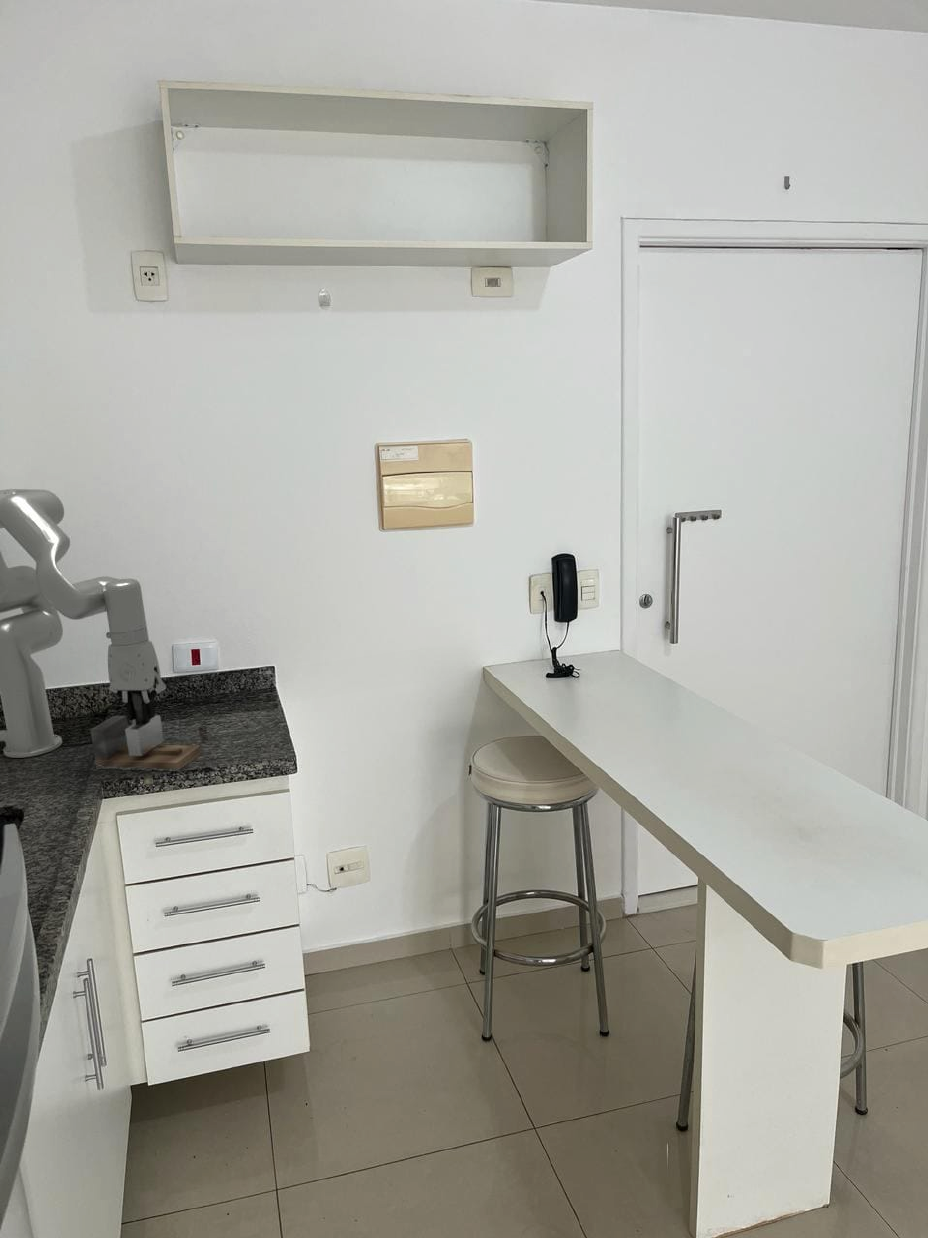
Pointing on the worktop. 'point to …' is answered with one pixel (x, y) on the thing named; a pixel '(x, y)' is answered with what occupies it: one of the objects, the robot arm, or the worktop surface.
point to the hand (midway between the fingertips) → (142, 717)
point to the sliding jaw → (142, 729)
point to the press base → (115, 753)
